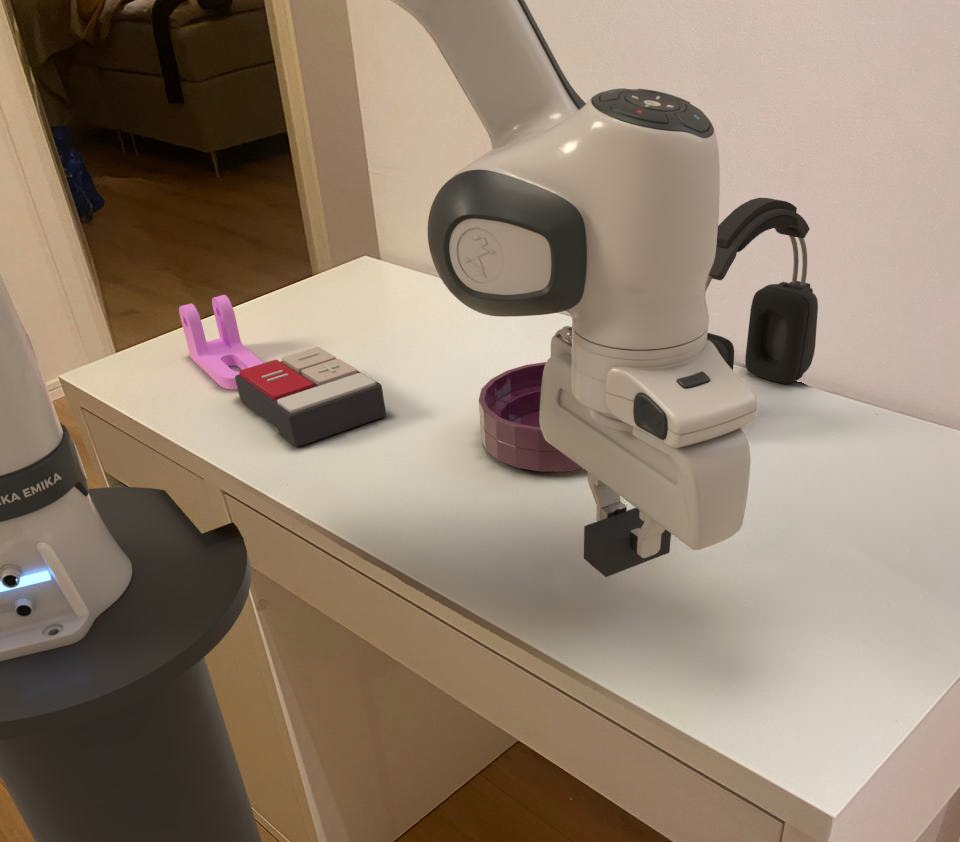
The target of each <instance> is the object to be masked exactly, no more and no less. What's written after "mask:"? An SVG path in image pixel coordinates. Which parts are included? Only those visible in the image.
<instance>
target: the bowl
mask: <svg viewBox="0 0 960 842" xmlns="http://www.w3.org/2000/svg"><path fill="white" fill-rule="evenodd" d="M546 362H547V361H543V362H537V363H529V364H525V365H521V366H518V367H515V368H511V369H508V370H505V371H503V372H502V373H500V374H498V375H496V376H494V377H492V378H491V379H489V381H487V382H486V384H485V385H484V386H483V387H481V389H480V393H479V396H478V409H479V410H478V413H479V427H480V429H479V430H480V439H481V442H482V444H483V446H484V449H485V451H486V452H487V453H489V454H490V455H491V456H492V457H494V459H496V460H497V461H500V462H502V463H504V464H506V465H510V466H512V467H515V468H517V469H524V470H530V471H536V472H572V471H577V470H584V469H583V468H582V467H581V466H579V465H578V464H577V463H575V462H574V461H573V460H571V459H570V458H569V457H567V456H566V455H564V454H563V453H562V452H560V451H559V450H558V449H556V448H555V447H554V446H552V445H551V444H550V443H548V442H547V441H546V440H545V438H544V436H543V433H542V431H541V427H540V422H539V415H540V397H541V386H542V377H543V371H544V367H545V364H546Z"/></svg>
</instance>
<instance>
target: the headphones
mask: <svg viewBox="0 0 960 842" xmlns="http://www.w3.org/2000/svg"><path fill="white" fill-rule="evenodd" d="M797 210H798V207H797V206H795V205H794V204H793V203H790V202H789V201H786V200H780V199H776V198H770V197H756V198H753V199H749V200H747V201H746V202H744V203H742V204H740V205H739V206H737V207H736V208H735V209H734V210H733V211H731V213H730V214H729V215H727V216H726V217H725V218H724V219H723V220H722V221H721V222H720V223H718V233H717V244H716V253H715V259H714V263H713V266H712V268H711V270H710V273H709V276H708V279H707V283H706V290H705V293H706V292H707V290H708V288H709V286H710V284H711V282H712V280H716V281H723V280H724V279H725V277H726V275H727V273H728V272H729V270H730V268H731V266H732V265H733V263H734V261H735V260H736V257H737V254H738V253H740V252H742V251H743V250H744V249H745V248H746V247H748V245H750V243H752V241H754V240H755V239H756V238H757V237H759V236H760V235H761V234H763V233H765V232H766V231H769V230H773V229H774V230H775V232H776V233H777V234H780V235H784V236H788V237H789V240H790V242H791V243H790V244H791V246H792V252H793V266H792V267H793V269H792V277H791V278H792V279H791V281H789V282H786V281H781V282H779V283H771V284H767V285H764V286H763V287H762V288H760V289H758V290H756V292H755V293H754V295H753V298H752V300H751V305H750V313H749V321H748V330H747V339H746V348H745V349H746V350H745V359H744V363H745V368H746V370H747V372H748V373H750V374H752V375H754V376H756V377H759V378H762V379H766V380H769V381H772V382H776V383H779V384H786V385H787V384H791V383H794V382H797V381H798V380H800V379H801V378H803V376H804V374H805V373H806V372H807V371H808V370H809V368H810V367H811V365H812V363H813V360H814V356H815V351H816V341H817V328H818V327H817V326H818V325H817V324H818V313H819V302H818V297H817V295H816V294H815V293H814V289H813V288H811V284H810V283H808V282H806V281H807V274H808V250H807V249H808V248H807V244H806V240H805V238H806V236H807V235H808V234H809V231H810V230H811V229H810V226H809V224H808V223H807V221H806V219H805V218H804V217H803V216H802V215H801V214H800V213H798V212H797ZM797 238H798V241H799V244H800V248H801V249H800V250H801V255H802V256H801V257H802V265H801V266H802V268H801V279H800V280H798V274H799V261H800V260H799V247H798V242H797ZM707 340H709V341H711V342H712V343H713V344H714V346H715V347H716V349H717V350H718V352H719V353H720V355H721V356H722V358H723V359H724V360H725V362H726V363H727V364H728V365H729V367H730V368H731V369H732V370H733V371H734V366H735V365H734V364H735V347H734V344H733V342H732V341H731V340H730V339H728V338H726V337H724V336H722V335H718V334H714V333H710V332H708V333H707Z"/></svg>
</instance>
